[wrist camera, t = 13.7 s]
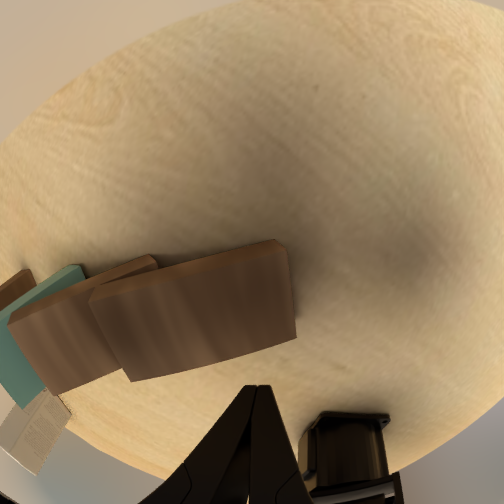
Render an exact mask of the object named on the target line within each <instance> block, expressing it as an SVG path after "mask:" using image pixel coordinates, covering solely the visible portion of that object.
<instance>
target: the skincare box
mask: <svg viewBox="0 0 504 504" xmlns="http://www.w3.org/2000/svg"><path fill="white" fill-rule="evenodd" d="M70 417H71V413H70V412H69V411H68V409H67V408H66V407H65V406H64V404H63V403H62V402H61V400H60V399H59V398H58V396H53V395H52V394H51V392H50V391H49V390H48V388H47V387H45V388H44V389H43V390H42V391H41V392H40V393H39V394H38V395H37V396H36V397H35V398H34V399H33V400H32V401H31V402H30V403H29V404H28V405H27V406H26V407H25V408H24V409H23V410H22V409H21V408H20V407H19V406H18V404H17V403H16V404H15V406H14V407H13V408H12V410H11V411H10V413H9V414H8V416H7V417H6V419H5V420H4V422H3V423H2V425H1V426H0V447H1V448H2V449H3V450H4V451H5V452H6V453H7V454H9V455H10V456H11V457H12V458H13V459H15V460H16V461H17V462H18V463H19V464H21V465H22V466H23V467H24V468H25V469H27V470H28V471H29V472H31V473H32V474H33V475H35V476H37V475H38V472H39V471H40V469H41V467H42V465H43V463H44V461H45V460H46V458H47V456H48V454H49V453H50V451H51V449H52V447H53V446H54V444H55V442H56V440H57V439H58V437H59V435H60V434H61V432H62V430H63V429H64V427H65V425H66V424H67V422H68V420H69V419H70Z"/></svg>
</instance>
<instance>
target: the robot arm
mask: <svg viewBox="0 0 504 504" xmlns="http://www.w3.org/2000/svg"><path fill="white" fill-rule="evenodd" d="M390 421H391V419H390V416H389V415H362V414H342V413H328V412H326V413H322V414H320V415H319V417H318V418H317V420H316V421H315V422H314V424H313V425H312V427H311V428H310V429H308V430H307V431H306V433H305V434H304V435H303V437H302V438H301V439H300V441H299V443H298V463H297V461H296V458H295V455H294V452H293V449H292V446H291V443H290V441H289V438H288V435H287V432H286V429H285V426H284V423H283V420H282V417H281V414H280V411H279V408H278V405H277V402H276V399H275V396H274V393H273V390H272V387H271V385H259V386H257V385H245V386H244V387H243V388H242V389H241V391H240V392H239V393H238V395H237V396H236V397H235V399H234V400H233V401H232V402H231V404H230V405H229V406H228V408H227V409H226V410H225V412H224V413H223V414H222V415H221V417H220V418H219V419H218V420H217V422H216V423H215V424H214V425H213V427H212V428H211V429H210V430H209V432H208V433H207V434H206V435H205V436H204V438H203V439H202V440H201V441H200V443H199V444H198V445H197V446H196V447H195V449H194V450H193V451H192V452H191V453H190V454H189V456H188V457H187V458H186V459H185V460H184V463H181V465H180V466H179V467H178V468H177V469H176V470H175V471H174V472H173V474H172V475H171V476H170V477H169V478H168V479H167V480H166V481H165V482H164V483H163V484H161V485H160V486H159V487H158V488H157V489H156V490H155V491H153V492H152V493H151V494H149V495H148V496H147V497H146V498H144V499H143V500H142V501H141V502H139V503H138V504H247V500H248V495H249V504H404V499H403V492H402V486H401V480H400V474H399V472H395V473H392V475H389V470H388V463H387V457H386V451H385V445H384V440H383V434H382V429H383V428H384V427H385V426H386V425H387V424H388V423H389V422H390ZM390 493H394V495H395V496H392V497H388V498H385V495H387V494H390ZM0 504H18V503H17V502H15V501H14V500H12V499H11V498H9V497H8V496H6V495H5V494H3V493H2V492H1V491H0Z"/></svg>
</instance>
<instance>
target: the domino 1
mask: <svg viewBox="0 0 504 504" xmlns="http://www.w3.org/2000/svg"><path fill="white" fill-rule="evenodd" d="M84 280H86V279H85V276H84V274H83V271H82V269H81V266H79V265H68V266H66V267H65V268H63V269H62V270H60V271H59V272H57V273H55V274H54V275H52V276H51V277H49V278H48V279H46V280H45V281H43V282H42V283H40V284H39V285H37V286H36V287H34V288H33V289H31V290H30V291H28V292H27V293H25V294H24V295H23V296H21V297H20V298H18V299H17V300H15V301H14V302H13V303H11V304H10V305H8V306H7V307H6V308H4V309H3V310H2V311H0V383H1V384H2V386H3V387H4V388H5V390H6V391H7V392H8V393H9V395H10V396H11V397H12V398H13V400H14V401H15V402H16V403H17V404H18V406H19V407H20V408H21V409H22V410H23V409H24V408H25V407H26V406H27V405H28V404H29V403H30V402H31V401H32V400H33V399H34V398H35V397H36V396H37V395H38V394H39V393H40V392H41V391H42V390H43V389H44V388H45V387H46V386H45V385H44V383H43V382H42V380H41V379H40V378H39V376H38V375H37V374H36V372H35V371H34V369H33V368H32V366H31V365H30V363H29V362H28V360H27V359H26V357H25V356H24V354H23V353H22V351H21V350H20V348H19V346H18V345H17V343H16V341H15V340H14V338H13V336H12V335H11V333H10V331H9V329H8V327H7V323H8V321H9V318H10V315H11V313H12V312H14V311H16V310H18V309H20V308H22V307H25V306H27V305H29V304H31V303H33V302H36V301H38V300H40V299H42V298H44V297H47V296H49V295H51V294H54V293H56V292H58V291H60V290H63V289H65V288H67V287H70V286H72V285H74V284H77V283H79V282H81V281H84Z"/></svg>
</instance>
